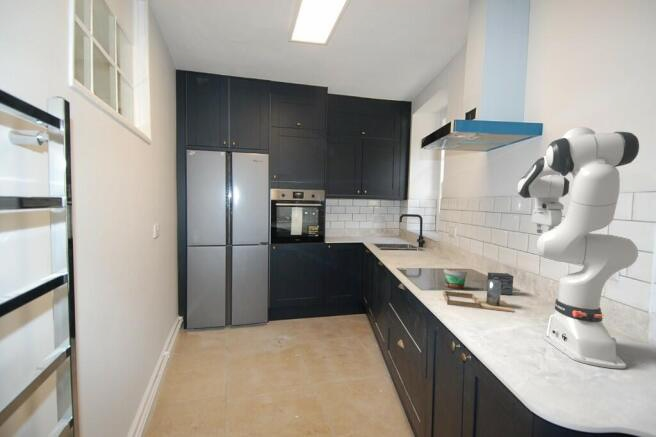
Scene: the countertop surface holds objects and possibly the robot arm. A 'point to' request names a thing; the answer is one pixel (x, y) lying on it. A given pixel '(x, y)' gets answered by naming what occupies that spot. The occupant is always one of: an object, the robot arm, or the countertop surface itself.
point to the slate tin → (493, 293)
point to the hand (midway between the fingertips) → (543, 234)
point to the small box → (503, 282)
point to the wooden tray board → (478, 302)
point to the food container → (455, 279)
